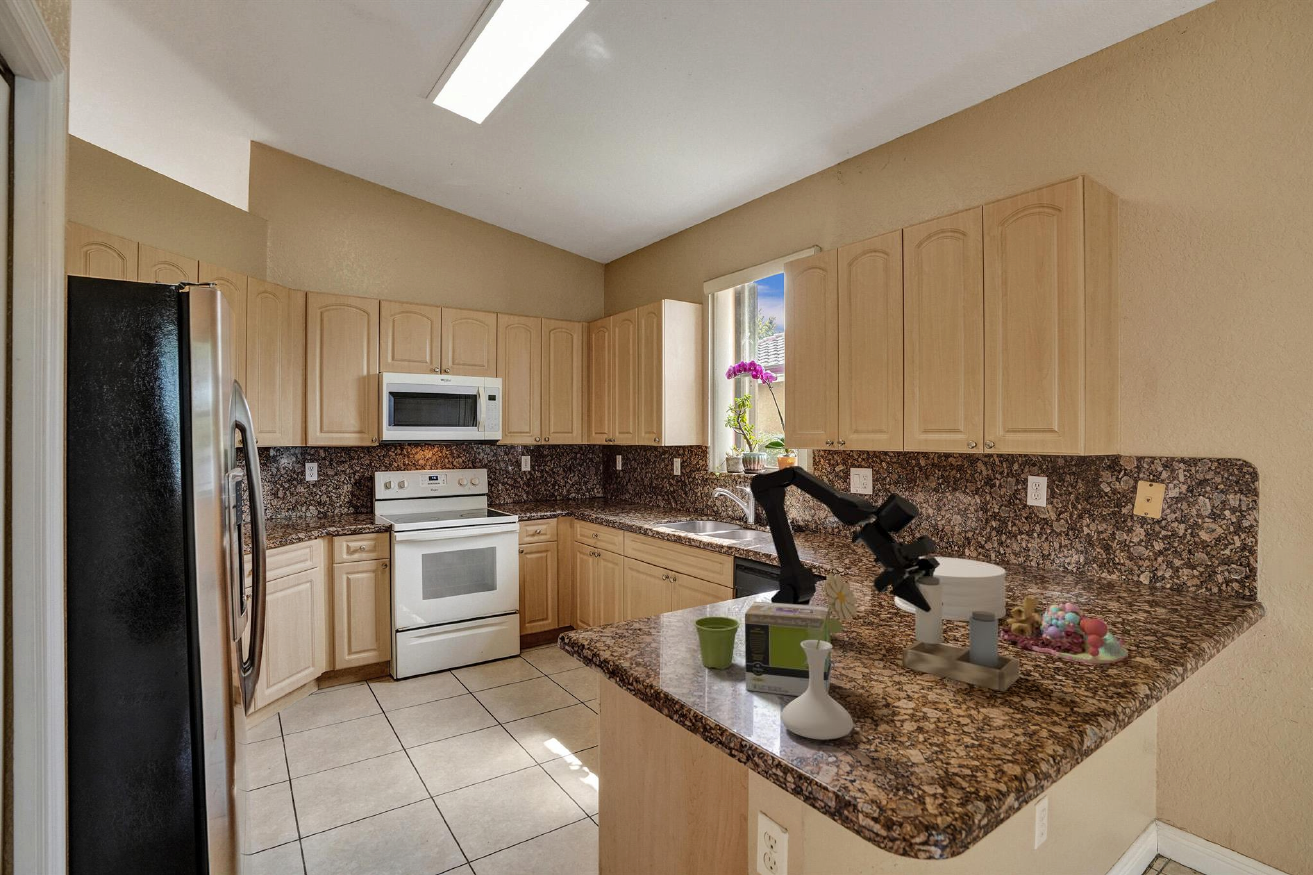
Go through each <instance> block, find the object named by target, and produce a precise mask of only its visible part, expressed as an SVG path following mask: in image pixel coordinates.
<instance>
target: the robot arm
mask: <svg viewBox="0 0 1313 875" xmlns="http://www.w3.org/2000/svg"><path fill="white" fill-rule="evenodd" d="M792 486H794V487H796V488H798V489H799V490H801V491H802V492H803V493H805V494H807V495H809V496H810V497H812V498H813V499H815V500H816V501H818V502H820V503H821V504H823V505H825V506H826V507H827V508H828V509H829V510H830V512H831V513H832V515H833V517H834V518H836V520H838V521H839V522H840V523H842V524H843V525H844V526H847V527H853V526H860V525H861V526H862V525H863V526H862V527H861V528H860V529H853V530H852V532H851V533H852V536H851V543H852V544H858V543H861V542H863V543H864V545H865V546H866V547H867V548H868V550H869V551H870V552H871V553H872V555H873V556H874V559H873V562H874V563H875V564H876V565H877V564H881V566H882V567H883V568H884V570H883V571H882V572H880V574H879V575H877V577H875V578H874V579H873V581H872V582H873V588H874V589H875V590H876V592H877V593H878V594H879V595H882V594H885V593H887V592H888V587H889V586H890V587H891V588H892V589H891V590H890V591H889V592H888V594H889V595H893V596H894V597H896V596H897V597H899V598H901V599H903V600H905V601H907V602H909V603H911V604H913V605H914V606H916V607H918V608H920V609H922V610H923V611H925V612H929V611H930V610H931V608H930V606H929V604H928V603H927V601H926V600H925V598H924V597H923V595H922V594H921V592H920V591H919V589H918V588H917V586H916V584H915V582H916V581H918V577H920V576H931V577H933V574H934V572H935V569H936V568H937V567H938V566H939V565H940V563H939V562H938V561H937V560H936V559H935V558H934V557H935V556H928V555H932V554H934V553H935V554H936V553H937V550H936V545H937V542H936V540H934V539H933V538H932V537H930V536H929V535H928V534H923V535H921V536H917V537H916V541H914V542H910V543H908V544H907V543H906V542H905V541H903V540H901V541H898V540H897V539H896V537H895V536H894V535H893V533H894V534H895V533H896V534H900V533H902V531H904V530H905V529H906V528H907V527H908V526H909V525H910V524H912V522H913V521H914V520H915V519H916V518H917V517H919V516H920V512H919V510H918V508H917V507H916V505H915V504H914V503H913V502H911V501H909V500H908V499H907V498H905V497H903V496H900V494H899V493H898V492H892V493H890V494H889V495H888V497H887V498H886V500H885V501H884V502H882V503H881V504H880V505H874V504H872V503H871V501H869V500H868V499H866V498H863V497H862V496H858V495H855V494H851V493H847V492H844V491H842V490H840V489H839V490H838V489H837V488H836V487H834V486H832V485H830V484H829V483H827V482H825V481H824V480H822V479H820V478H819V477H817V476H815V475H814V474H812V473H810V472H808V471H807V470H805V469H804V468H803V467H802V466H800V465H787V466H785V467H784V468H781V469H778V470H775V471H772V472H771V471H770V472H768V473H767V472H764V473H756V474H755V475H754V476H753V477H752V478H751V481H749V488H750V492H751V493H752V496H753V498H754V500H755V502H756V503H757V505H759V506H760V507H761V509H763V511H764V513H765V514H764V515H765V517H766V521H767V524H768V528H769V532H770V534H771V538H772V541H773V546H774V548H775V549H774V550H775V551H776V555H777V559H778V562H779V567H780V570H779V573H778V574H779V575H778V576H779V577H778V586H779V590H778V591H777V592H776V593H774V595H773V596H772V597H771V598H770V601H771V602H770V603H784V604H798V605H810V603H811V600H812V598H813V597H814V596H815V593H816V591H817V589H816V585H817V584H818V583H817V581H816V579H815V577H814V570H813V569H812V567H805V566H804V564H803V563H802V562H801V559H800V556H799V552H798V549H797V545H796V543H795V539H794V535H793V532H792V530H791V525H790V521H789V519H788V516H787V513H786V510H785V509H786V508H785V499H786V496H787V495H786V494H787V492H786V488H790V487H792ZM872 519H874V520H873V521H872ZM871 521H872V522H871ZM919 557H924V558H921V559H920V558H919ZM942 606H943V602H942Z"/></svg>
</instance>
